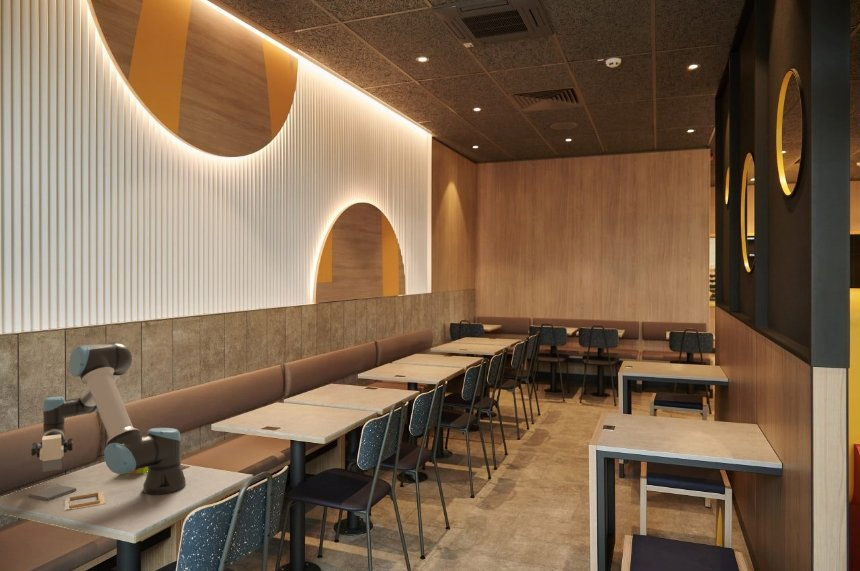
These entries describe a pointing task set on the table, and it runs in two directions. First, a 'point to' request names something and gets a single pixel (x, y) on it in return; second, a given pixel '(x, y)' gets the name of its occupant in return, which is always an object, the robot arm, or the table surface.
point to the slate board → (52, 492)
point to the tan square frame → (87, 504)
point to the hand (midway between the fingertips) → (51, 454)
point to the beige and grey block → (51, 453)
